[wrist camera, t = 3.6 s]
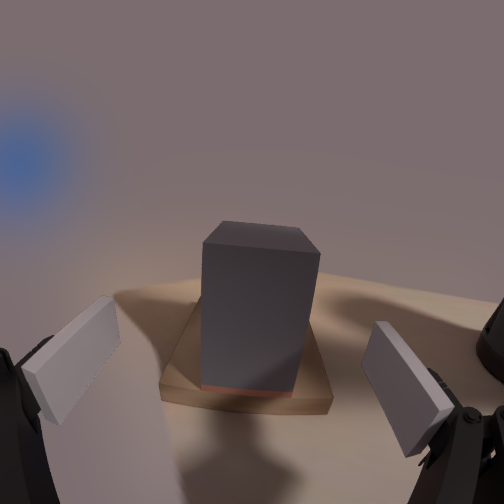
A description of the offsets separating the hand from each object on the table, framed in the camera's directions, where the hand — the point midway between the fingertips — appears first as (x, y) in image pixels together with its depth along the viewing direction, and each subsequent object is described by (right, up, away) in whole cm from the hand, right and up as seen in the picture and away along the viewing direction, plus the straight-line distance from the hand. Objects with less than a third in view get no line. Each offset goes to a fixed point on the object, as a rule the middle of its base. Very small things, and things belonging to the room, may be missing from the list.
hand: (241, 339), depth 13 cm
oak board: (0, -5, +12) cm, 13 cm away
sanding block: (0, -4, +8) cm, 9 cm away
